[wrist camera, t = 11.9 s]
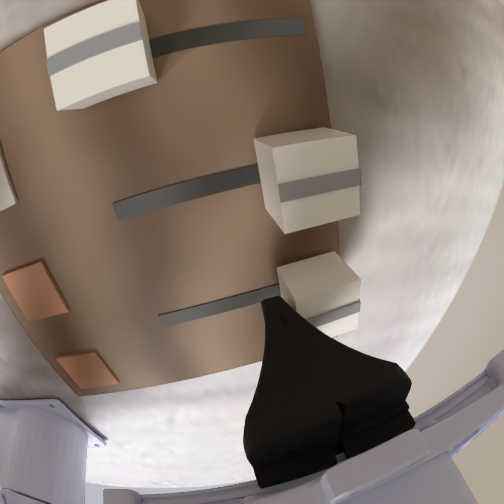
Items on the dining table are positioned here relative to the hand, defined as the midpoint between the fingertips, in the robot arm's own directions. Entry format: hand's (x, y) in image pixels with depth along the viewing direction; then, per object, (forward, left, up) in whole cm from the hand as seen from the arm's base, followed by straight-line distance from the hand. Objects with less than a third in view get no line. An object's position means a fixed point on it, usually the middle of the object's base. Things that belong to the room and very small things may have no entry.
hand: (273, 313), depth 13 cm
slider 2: (+2, 0, -1) cm, 3 cm away
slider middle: (+2, +6, -1) cm, 7 cm away
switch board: (-5, +5, -3) cm, 7 cm away
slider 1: (-4, +12, -1) cm, 13 cm away
